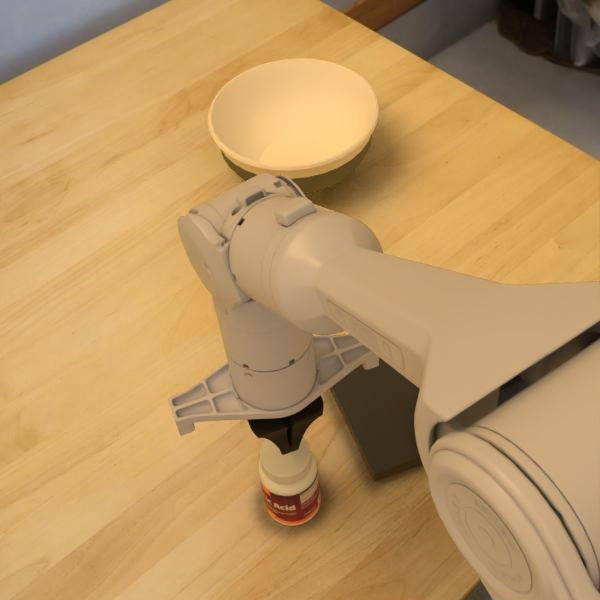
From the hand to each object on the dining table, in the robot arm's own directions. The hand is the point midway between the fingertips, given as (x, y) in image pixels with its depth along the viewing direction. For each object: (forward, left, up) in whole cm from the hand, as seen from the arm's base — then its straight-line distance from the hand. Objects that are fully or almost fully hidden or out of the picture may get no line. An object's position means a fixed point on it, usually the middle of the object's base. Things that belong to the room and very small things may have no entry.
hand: (286, 441), depth 65 cm
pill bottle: (0, 0, -10) cm, 10 cm away
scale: (+5, -12, -10) cm, 16 cm away
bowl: (+39, -15, -10) cm, 43 cm away
